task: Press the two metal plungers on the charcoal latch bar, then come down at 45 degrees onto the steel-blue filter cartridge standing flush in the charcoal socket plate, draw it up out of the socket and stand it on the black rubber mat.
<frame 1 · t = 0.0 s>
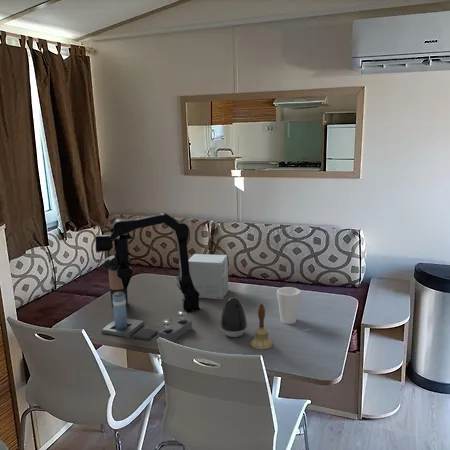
hand: (124, 285, 190), 15 cm above the table, tool pointing down, fingers open, 9 cm apart
latch bar: (175, 333, 178), on the table
hand bell: (261, 344, 168), on the table
supplement box: (208, 293, 219), on the table
dark egg shaped device: (234, 334, 176), on the table
travel mug: (119, 304, 208), on the table
mat: (145, 335, 177), on the table
foam cup: (288, 321, 187), on the table
cartridge: (120, 311, 180), in the socket plate
plunger b: (167, 326, 173), point 5 cm above the table, slide at 0.0 cm
plunger a: (182, 317, 180), point 5 cm above the table, slide at 0.0 cm
socket plate: (121, 329, 182), on the table
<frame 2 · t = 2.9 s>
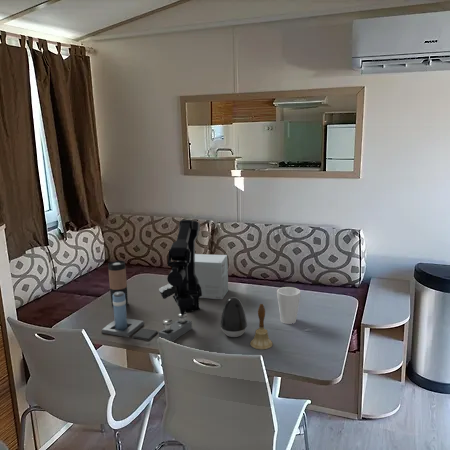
hand: (182, 314, 180), 6 cm above the table, tool pointing down, fingers closed, pressing on plunger a
plunger a: (182, 319, 180), point 4 cm above the table, slide at -0.8 cm, touching gripper
everything else where it was.
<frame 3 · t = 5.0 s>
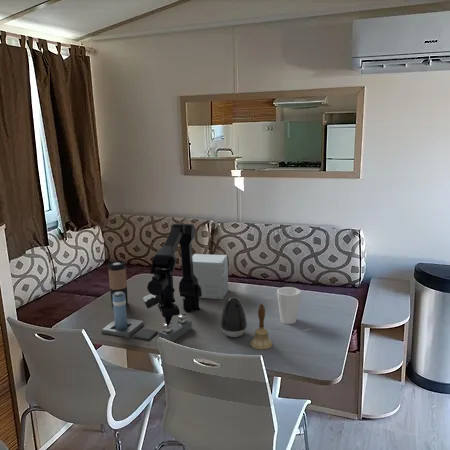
hand: (167, 324, 173), 6 cm above the table, tool pointing down, fingers closed, pressing on plunger b
plunger b: (167, 329, 173), point 4 cm above the table, slide at -1.3 cm, touching gripper
plunger a: (182, 320, 181), point 4 cm above the table, slide at -1.4 cm
everything else where it was.
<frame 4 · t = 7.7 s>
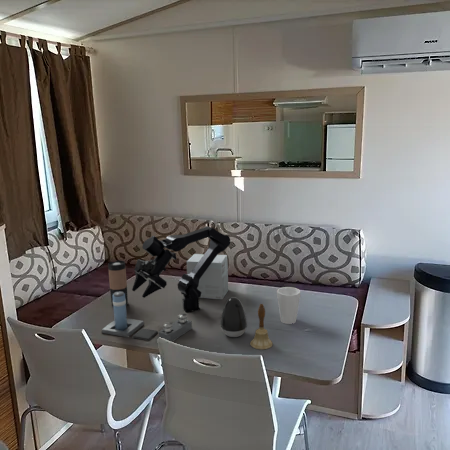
hand: (137, 293, 184), 13 cm above the table, tool tilted 45°, fingers open, 9 cm apart
plunger b: (167, 329, 173), point 4 cm above the table, slide at -1.3 cm
everything else where it was.
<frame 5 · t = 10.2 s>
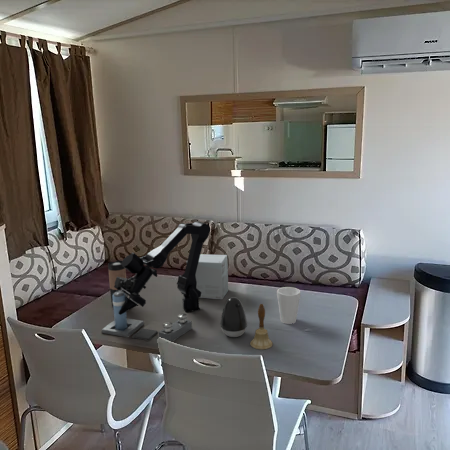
hand: (116, 312, 179), 8 cm above the table, tool tilted 45°, fingers closed on cartridge, 5 cm apart
cartridge: (120, 311, 180), in the socket plate, touching gripper
everything else where it was.
when the fingers open (10 cm above the table, at t = 13.3 s): cartridge drops 1 cm, resting on mat.
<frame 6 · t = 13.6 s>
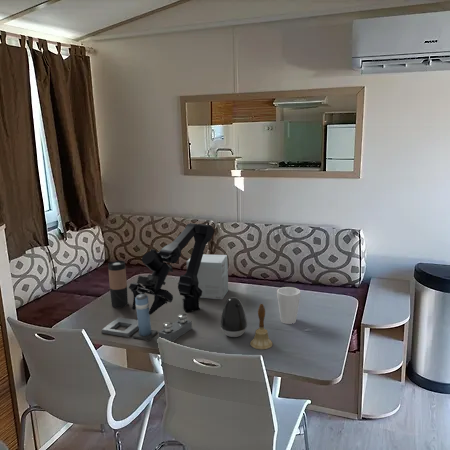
hand: (141, 312, 174), 10 cm above the table, tool tilted 45°, fingers open, 8 cm apart
cartridge: (143, 314, 175), on the mat, point 9 cm above the table
everything else where it was.
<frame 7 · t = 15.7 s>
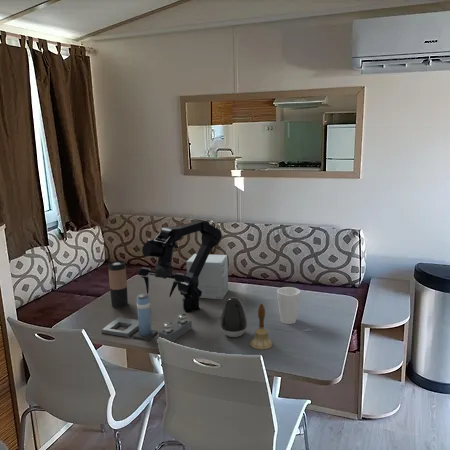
hand: (158, 295, 186), 12 cm above the table, tool tilted 15°, fingers open, 9 cm apart
nothing on the table moved.
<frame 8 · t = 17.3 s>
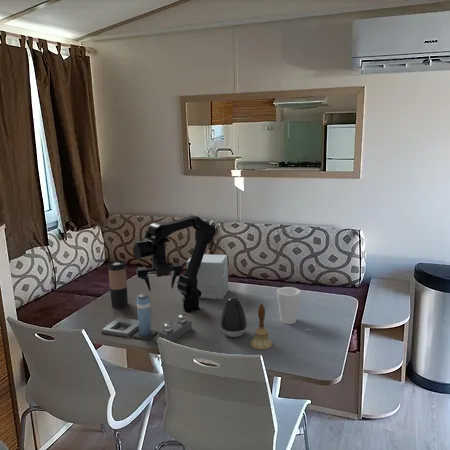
hand: (160, 289, 189), 13 cm above the table, tool pointing down, fingers open, 9 cm apart
nothing on the table moved.
at the end: cartridge inside the target area on the mat (0.0 cm from its centre), point 8.6 cm above the mat's base; plunger a slide at -1.4 cm; plunger b slide at -1.3 cm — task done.
